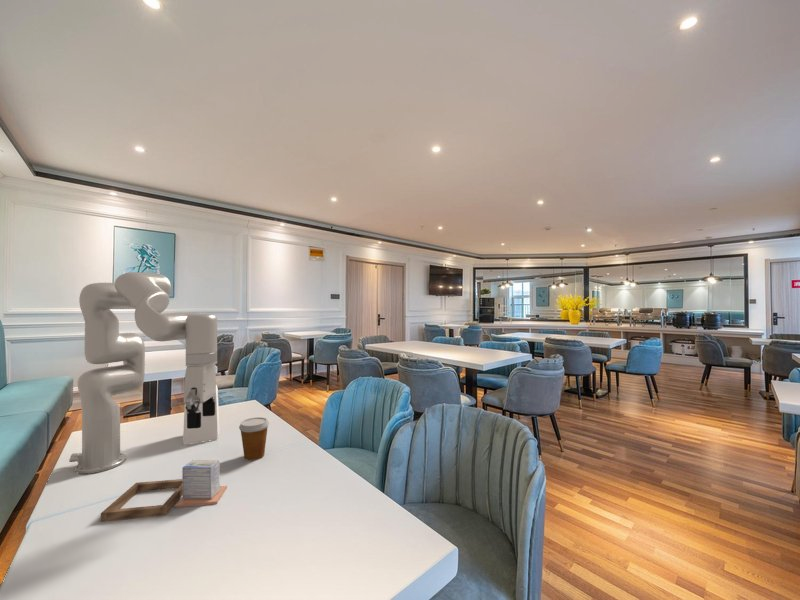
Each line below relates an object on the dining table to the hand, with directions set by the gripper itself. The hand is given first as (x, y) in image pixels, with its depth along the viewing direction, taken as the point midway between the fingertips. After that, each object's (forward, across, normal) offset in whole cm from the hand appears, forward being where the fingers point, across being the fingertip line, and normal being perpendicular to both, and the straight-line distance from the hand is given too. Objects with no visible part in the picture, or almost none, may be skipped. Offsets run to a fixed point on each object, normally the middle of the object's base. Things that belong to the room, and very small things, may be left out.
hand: (201, 421), depth 95 cm
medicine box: (+20, +1, 0) cm, 20 cm away
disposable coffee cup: (+21, -23, +8) cm, 32 cm away
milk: (+21, -45, -17) cm, 53 cm away
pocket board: (+20, +1, -13) cm, 24 cm away
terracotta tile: (+20, +1, 0) cm, 20 cm away
